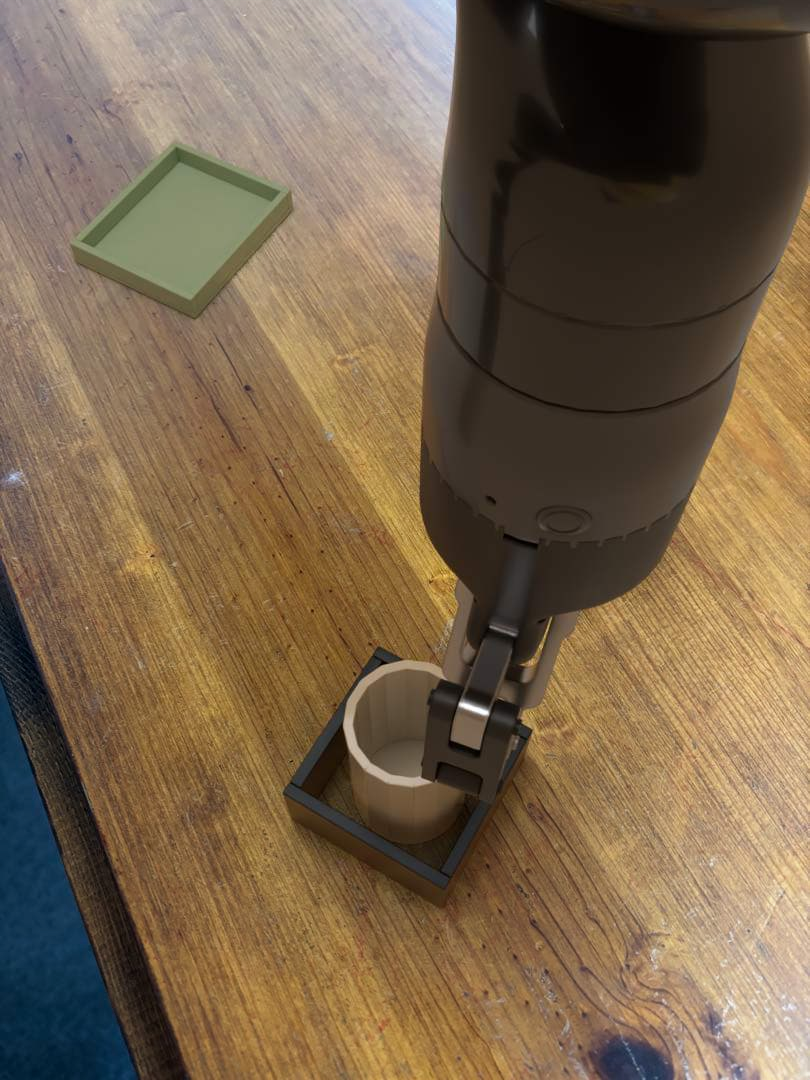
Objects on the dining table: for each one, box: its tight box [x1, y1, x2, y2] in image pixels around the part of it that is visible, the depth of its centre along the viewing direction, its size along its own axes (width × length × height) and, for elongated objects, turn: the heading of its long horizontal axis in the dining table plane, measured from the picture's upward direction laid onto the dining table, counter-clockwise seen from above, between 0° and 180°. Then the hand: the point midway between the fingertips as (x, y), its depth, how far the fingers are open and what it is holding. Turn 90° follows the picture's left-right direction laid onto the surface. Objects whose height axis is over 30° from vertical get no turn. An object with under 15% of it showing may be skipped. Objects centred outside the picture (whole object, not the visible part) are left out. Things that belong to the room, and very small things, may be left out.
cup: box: [343, 659, 467, 845], centre depth 56 cm, size 6×6×11 cm
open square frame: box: [282, 645, 534, 910], centre depth 59 cm, size 10×10×5 cm
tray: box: [69, 139, 294, 319], centre depth 82 cm, size 13×11×2 cm
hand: (510, 660), depth 42 cm, fingers open, 8 cm apart
